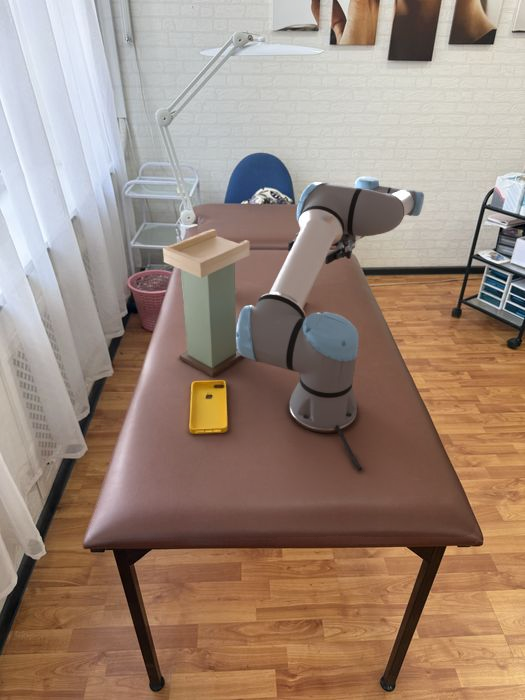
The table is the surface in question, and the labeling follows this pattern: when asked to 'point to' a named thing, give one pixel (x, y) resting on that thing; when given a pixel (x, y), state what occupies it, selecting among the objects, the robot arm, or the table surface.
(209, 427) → the phone case
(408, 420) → the table surface
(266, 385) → the table surface
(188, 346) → the stand
